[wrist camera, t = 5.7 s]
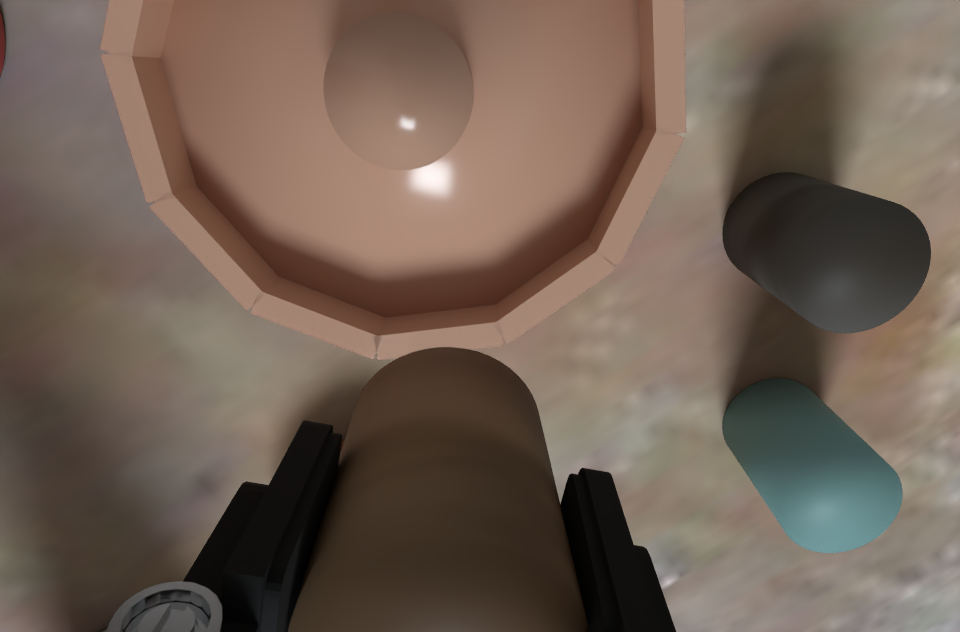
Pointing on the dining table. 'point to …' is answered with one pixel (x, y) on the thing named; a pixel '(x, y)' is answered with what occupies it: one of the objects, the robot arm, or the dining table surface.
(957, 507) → the dining table surface
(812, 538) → the teal capsule
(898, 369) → the dining table surface
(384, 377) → the bead
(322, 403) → the dining table surface
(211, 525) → the dining table surface
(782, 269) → the bead
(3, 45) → the flower pot
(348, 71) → the groove dish
